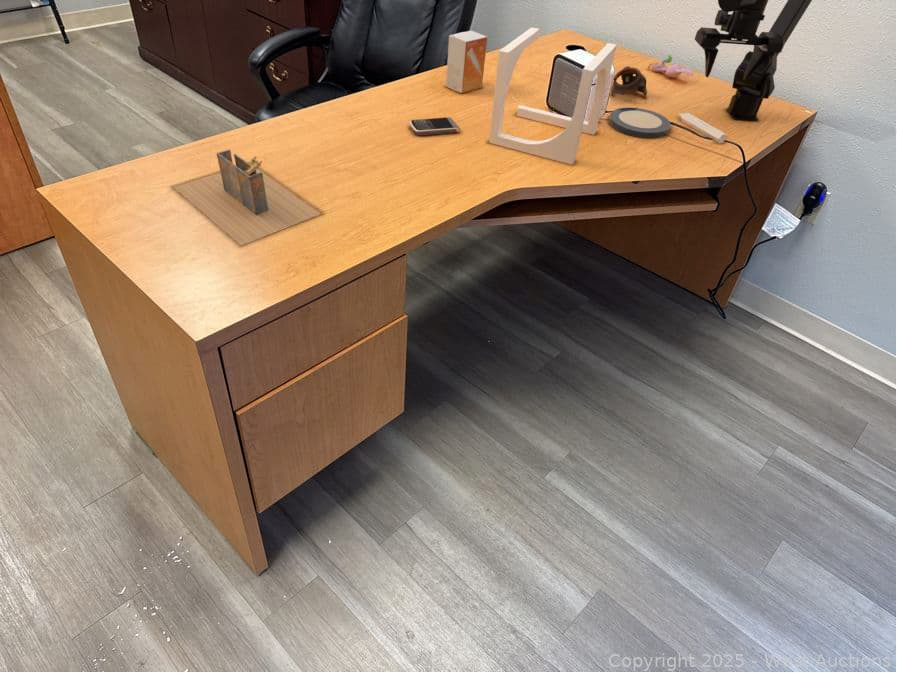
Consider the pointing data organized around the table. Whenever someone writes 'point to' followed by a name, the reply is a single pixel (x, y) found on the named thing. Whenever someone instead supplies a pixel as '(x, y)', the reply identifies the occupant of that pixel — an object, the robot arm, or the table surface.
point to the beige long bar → (703, 127)
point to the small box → (466, 61)
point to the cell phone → (434, 126)
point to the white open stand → (568, 139)
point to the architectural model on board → (245, 200)
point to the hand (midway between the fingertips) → (725, 78)
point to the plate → (639, 122)
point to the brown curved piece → (629, 82)
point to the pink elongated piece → (670, 68)
